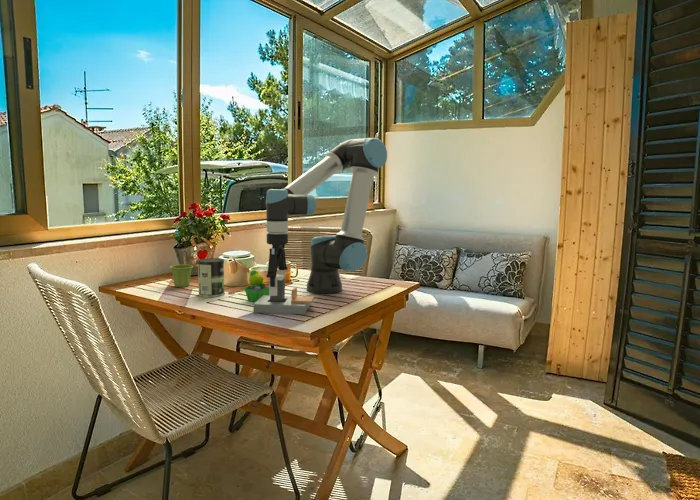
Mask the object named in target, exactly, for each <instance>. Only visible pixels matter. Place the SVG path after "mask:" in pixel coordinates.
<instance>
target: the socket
mask: <svg viewBox="0 0 700 500" xmlns="http://www.w3.org/2000/svg"><path fill="white" fill-rule="evenodd" d="M291 300H292V295H285V302H270V296H269V295H263V296H262V297H261V298H260V299H259V300H257V301H256V302H254V303H253V313H254V314H255V313H258V314H259V313H260V314H261V313H263V314H283V315H284V314H289V315H291V314H292V315H305V314H306V313H307V311H308V310H309V307H310V306H311V304H312V303H291Z"/></svg>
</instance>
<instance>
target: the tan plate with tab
mask: <svg viewBox="0 0 700 500" xmlns="http://www.w3.org/2000/svg"><path fill="white" fill-rule="evenodd" d="M291 296H292V300H291V303H311V304H312V303H313V301H314V300H315V296H314V295H313V296H307V295H298V287H297V286H294V287H293V288H292V289H291Z"/></svg>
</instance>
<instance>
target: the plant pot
mask: <svg viewBox="0 0 700 500" xmlns="http://www.w3.org/2000/svg"><path fill="white" fill-rule="evenodd" d="M169 267H170V270H171V273H172V278H173V284H174V287H175V288H178V287H179V288H186V287H189V286H190V283H191V275H192V270H193V268H194V266H193V265H192V264H175V265H170V266H169Z"/></svg>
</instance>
